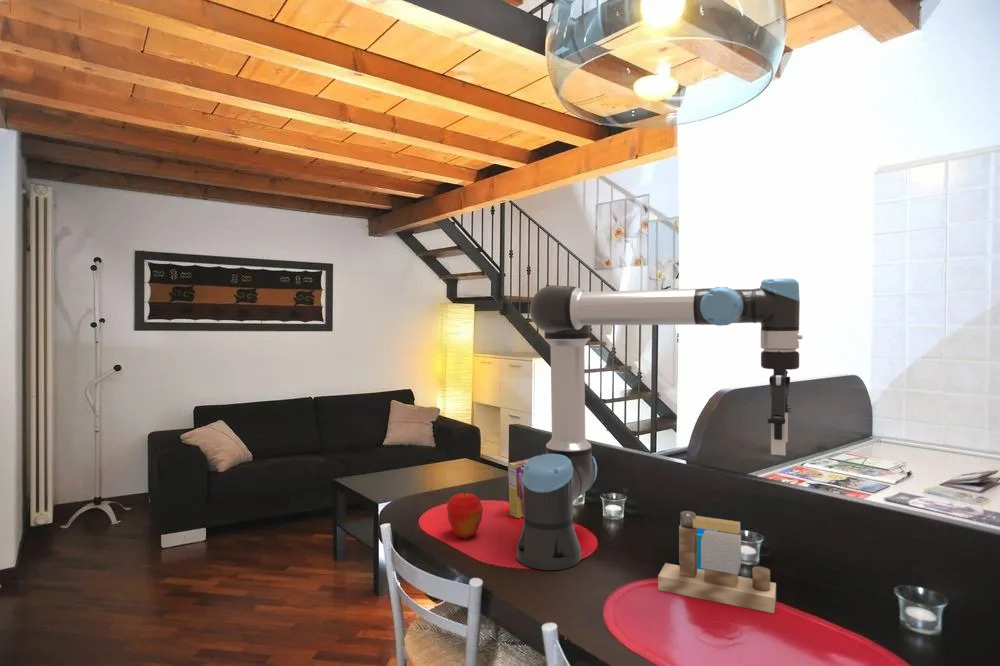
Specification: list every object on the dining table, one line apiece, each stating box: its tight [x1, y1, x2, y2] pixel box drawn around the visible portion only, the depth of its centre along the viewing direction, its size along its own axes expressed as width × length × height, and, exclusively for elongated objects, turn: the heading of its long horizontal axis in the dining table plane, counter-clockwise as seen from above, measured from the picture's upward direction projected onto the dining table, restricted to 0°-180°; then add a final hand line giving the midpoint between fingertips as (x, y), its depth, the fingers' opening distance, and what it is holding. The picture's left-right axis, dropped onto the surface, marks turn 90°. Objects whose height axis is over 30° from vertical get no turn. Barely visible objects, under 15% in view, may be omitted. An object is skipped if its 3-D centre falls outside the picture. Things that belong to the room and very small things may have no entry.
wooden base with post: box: [657, 524, 777, 614], centre depth 122 cm, size 22×7×13 cm, turn 62°
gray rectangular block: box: [701, 530, 742, 575], centre depth 121 cm, size 7×6×6 cm
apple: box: [446, 492, 483, 540], centre depth 155 cm, size 9×9×12 cm
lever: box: [680, 510, 741, 535], centre depth 122 cm, size 12×3×2 cm, turn 62°
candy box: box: [507, 458, 530, 519], centre depth 171 cm, size 9×4×15 cm, turn 127°
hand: (779, 447), depth 129 cm, fingers open, 13 cm apart
